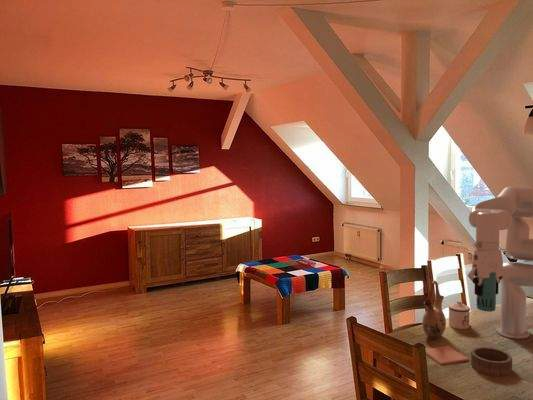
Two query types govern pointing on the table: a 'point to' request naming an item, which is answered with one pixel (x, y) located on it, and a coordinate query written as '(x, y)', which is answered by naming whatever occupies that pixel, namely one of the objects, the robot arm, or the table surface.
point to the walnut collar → (491, 361)
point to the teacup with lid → (459, 315)
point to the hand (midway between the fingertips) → (486, 293)
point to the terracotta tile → (445, 355)
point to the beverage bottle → (487, 294)
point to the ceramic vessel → (434, 314)
